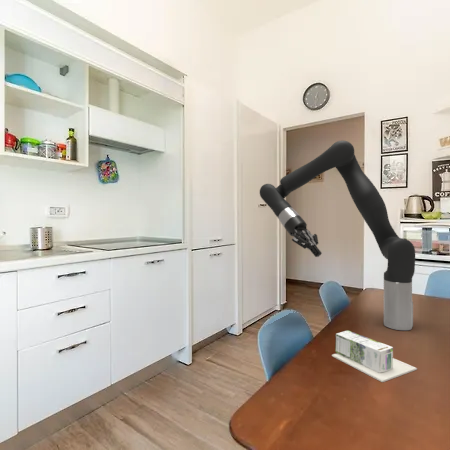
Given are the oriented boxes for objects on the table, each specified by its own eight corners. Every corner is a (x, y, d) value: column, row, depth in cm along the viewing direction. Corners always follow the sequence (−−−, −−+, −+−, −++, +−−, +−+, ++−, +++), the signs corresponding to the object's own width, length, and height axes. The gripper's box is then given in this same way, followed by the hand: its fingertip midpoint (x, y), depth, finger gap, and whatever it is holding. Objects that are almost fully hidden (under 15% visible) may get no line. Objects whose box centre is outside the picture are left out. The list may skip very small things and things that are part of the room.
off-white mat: (364, 347, 93) (364, 345, 93) (416, 369, 79) (416, 368, 79) (331, 356, 87) (331, 354, 87) (382, 382, 72) (382, 380, 72)
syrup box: (347, 348, 91) (394, 368, 78) (334, 352, 88) (381, 374, 75) (347, 329, 91) (394, 346, 78) (334, 333, 88) (381, 351, 75)
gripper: (285, 214, 110) (313, 249, 100) (308, 214, 118) (336, 247, 108) (275, 228, 114) (301, 263, 104) (297, 228, 122) (323, 260, 112)
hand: (319, 255), depth 106 cm, fingers closed
